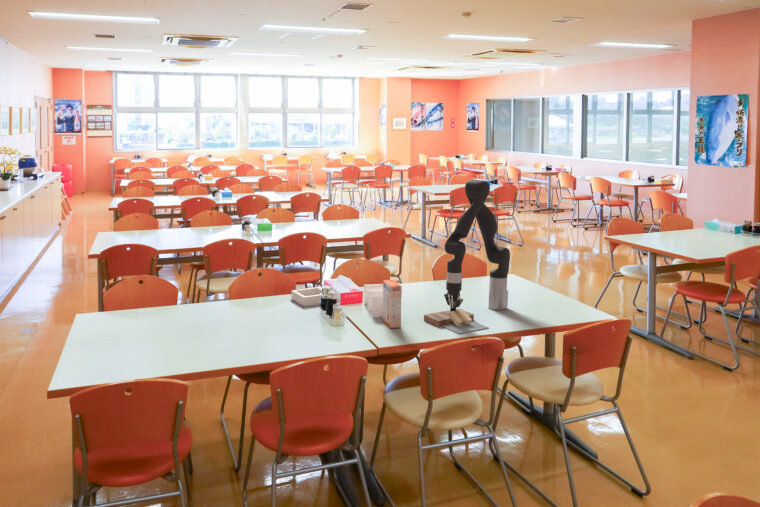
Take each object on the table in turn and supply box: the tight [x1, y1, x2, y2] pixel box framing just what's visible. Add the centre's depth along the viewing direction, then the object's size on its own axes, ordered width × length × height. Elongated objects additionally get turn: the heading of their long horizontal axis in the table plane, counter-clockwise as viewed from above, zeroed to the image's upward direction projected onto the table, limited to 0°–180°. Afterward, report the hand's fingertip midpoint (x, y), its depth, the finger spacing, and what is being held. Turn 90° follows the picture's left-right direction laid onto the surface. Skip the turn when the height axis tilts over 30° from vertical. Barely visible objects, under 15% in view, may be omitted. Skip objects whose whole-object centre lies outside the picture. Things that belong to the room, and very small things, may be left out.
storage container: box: [363, 283, 383, 318], centre depth 339 cm, size 25×11×11 cm, turn 11°
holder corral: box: [291, 286, 323, 307], centre depth 356 cm, size 17×17×5 cm
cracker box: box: [382, 279, 403, 329], centre depth 314 cm, size 14×6×21 cm, turn 14°
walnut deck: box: [423, 308, 475, 328], centre depth 322 cm, size 22×12×3 cm, turn 121°
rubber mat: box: [441, 320, 490, 335], centre depth 312 cm, size 18×15×1 cm
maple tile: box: [449, 309, 473, 327], centre depth 315 cm, size 8×8×3 cm
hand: (453, 314), depth 319 cm, fingers closed
